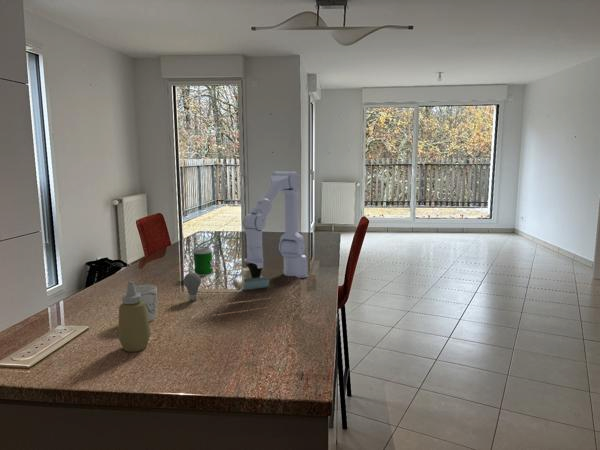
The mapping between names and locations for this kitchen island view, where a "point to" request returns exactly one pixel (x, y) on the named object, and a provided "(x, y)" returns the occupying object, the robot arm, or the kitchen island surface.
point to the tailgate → (256, 283)
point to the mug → (148, 299)
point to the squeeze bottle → (133, 321)
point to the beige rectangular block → (245, 274)
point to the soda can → (203, 261)
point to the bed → (239, 283)
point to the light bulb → (192, 284)
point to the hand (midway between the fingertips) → (255, 282)
